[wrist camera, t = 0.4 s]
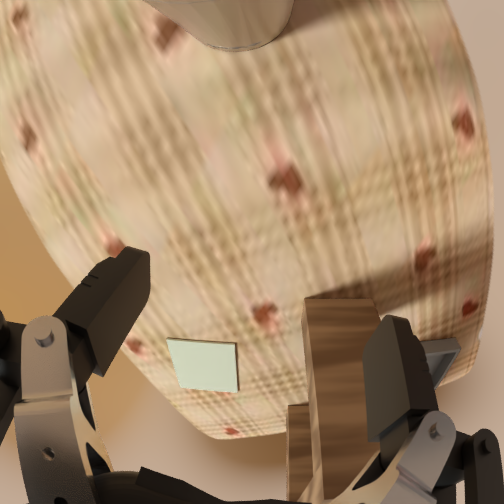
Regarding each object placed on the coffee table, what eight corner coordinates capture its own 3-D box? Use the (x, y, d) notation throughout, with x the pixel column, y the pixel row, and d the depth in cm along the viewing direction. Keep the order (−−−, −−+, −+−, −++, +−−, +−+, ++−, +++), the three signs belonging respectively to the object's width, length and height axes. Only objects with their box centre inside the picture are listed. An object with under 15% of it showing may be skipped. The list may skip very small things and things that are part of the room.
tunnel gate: (304, 298, 33) (323, 499, 13) (371, 298, 32) (430, 479, 13) (286, 415, 45) (285, 533, 26) (331, 414, 45) (342, 529, 26)
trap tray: (418, 341, 36) (423, 354, 34) (455, 337, 35) (461, 348, 33) (396, 384, 41) (400, 395, 38) (431, 379, 40) (435, 389, 38)
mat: (166, 338, 37) (166, 339, 37) (234, 343, 37) (234, 344, 36) (180, 385, 42) (180, 387, 42) (237, 391, 42) (237, 392, 42)
